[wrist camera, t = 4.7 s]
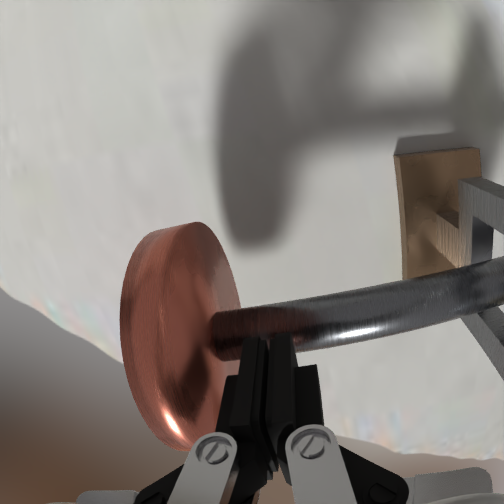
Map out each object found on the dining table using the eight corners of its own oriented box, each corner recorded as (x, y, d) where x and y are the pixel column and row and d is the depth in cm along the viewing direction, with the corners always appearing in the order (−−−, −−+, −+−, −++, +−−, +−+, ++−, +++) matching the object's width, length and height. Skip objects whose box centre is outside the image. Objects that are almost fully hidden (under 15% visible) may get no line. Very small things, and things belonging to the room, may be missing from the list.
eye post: (393, 155, 18) (522, 209, 7) (471, 147, 17) (610, 191, 6) (402, 298, 21) (471, 428, 10) (471, 281, 20) (558, 386, 9)
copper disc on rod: (159, 209, 17) (48, 306, 8) (514, 151, 14) (639, 196, 4) (209, 355, 21) (173, 487, 11) (506, 296, 17) (584, 386, 8)
